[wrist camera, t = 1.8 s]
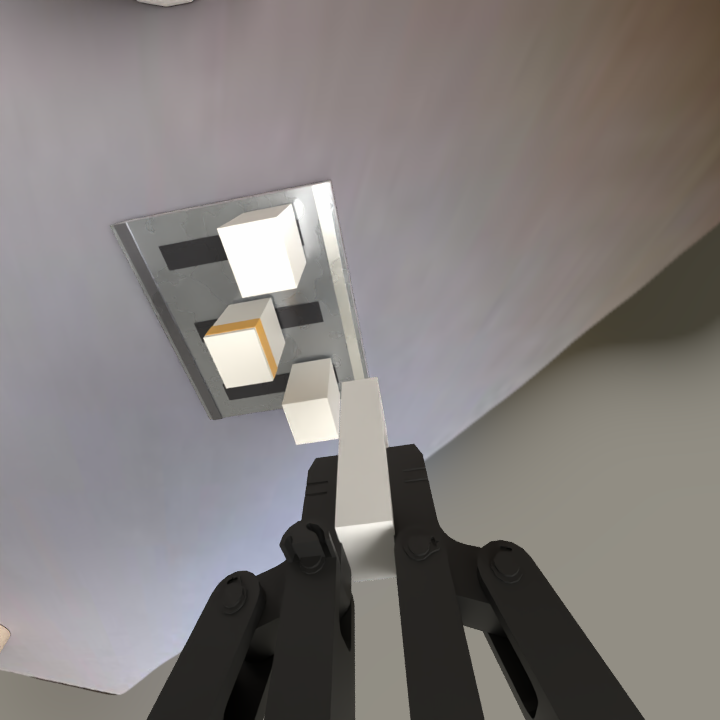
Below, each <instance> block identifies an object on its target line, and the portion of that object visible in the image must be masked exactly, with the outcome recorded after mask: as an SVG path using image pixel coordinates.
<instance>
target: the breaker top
mask: <svg viewBox="0 0 720 720" xmlns="http://www.w3.org/2000/svg"><path fill="white" fill-rule="evenodd" d="M217 230H218V233H219V236H220V239H221V241H222V244H223V247H224V249H225V252H226V255H227V258H228V260H229V263H230V266H231V268H232V271H233V274H234V277H235V279H236V282H237V285H238V287H239V290H240V293H241V296H242V298H245V297H250V296H256V295H261V294H267V293H273V292H278V291H284V290H289V289H295V288H297V286H298V283H299V281H300V278H301V275H302V273H303V270H304V267H305V265H306V259H305V255H304V251H303V247H302V243H301V239H300V235H299V231H298V227H297V223H296V219H295V216H294V212H293V208H292V204H286V205H281V206H276V207H270V208H265V209H260V210H255V211H250V212H245V213H242V214H241V215H239V216H237V217H236V218H234V219H232V220H231V221H229V222H227V223H225V224H224V225H222V226H220V227H219V228H217Z"/></svg>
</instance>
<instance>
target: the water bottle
mask: <svg viewBox="0 0 720 720" xmlns="http://www.w3.org/2000/svg"><path fill="white" fill-rule="evenodd" d="M9 637H10V632H9V631H8V630H7V629H6V628H5V627H3V626H1V625H0V652H1V650H2V649H3V647H4V645H5V644H6V642H7V640H8V639H9Z"/></svg>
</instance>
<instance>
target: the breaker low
mask: <svg viewBox="0 0 720 720" xmlns="http://www.w3.org/2000/svg"><path fill="white" fill-rule="evenodd" d="M282 407H283V409H284V412H285V415H286V418H287V420H288V423H289V426H290V428H291V431H292V434H293V437H294V439H295V442H296V445H299V444H306V443H312V442H319V441H326V440H332V439H339V415H340V393H339V389H338V385H337V381H336V377H335V373H334V369H333V365H332V361H331V358H327V359H321V360H315V361H309V362H303V363H297V364H292V368H291V372H290V375H289V379H288V383H287V387H286V391H285V395H284V398H283V402H282Z"/></svg>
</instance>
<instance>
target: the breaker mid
mask: <svg viewBox="0 0 720 720" xmlns="http://www.w3.org/2000/svg"><path fill="white" fill-rule="evenodd" d="M203 339H204V341H205V343H206V345H207V347H208V350H209V352H210V354H211V356H212V358H213V361H214V363H215V365H216V367H217V369H218V371H219V374H220V376H221V378H222V380H223V382H224V384H225V387H226V389H227V388H233V387H239V386H245V385H251V384H257V383H264V382H270V381H273V379H274V378H275V375H276V372H277V369H278V368H277V367H278V364H279V361H280V358H281V355H282V352H283V349H284V346H285V340H284V337H283V334H282V330H281V327H280V324H279V321H278V318H277V315H276V312H275V309H274V306H273V303H272V300H271V297H270V298H264V299H259V300H253V301H248V302H242V303H236V304H231V305H228V307H227V308H226V309H225V311H224V312H223V313H222V314H221V316H220V317H219V318H218V320H217V321H216V322H215V323H214V325H213V326H212V327H211V328H210V329H209V330H208V332H207V333H206V334H205V336H204V338H203Z"/></svg>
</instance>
